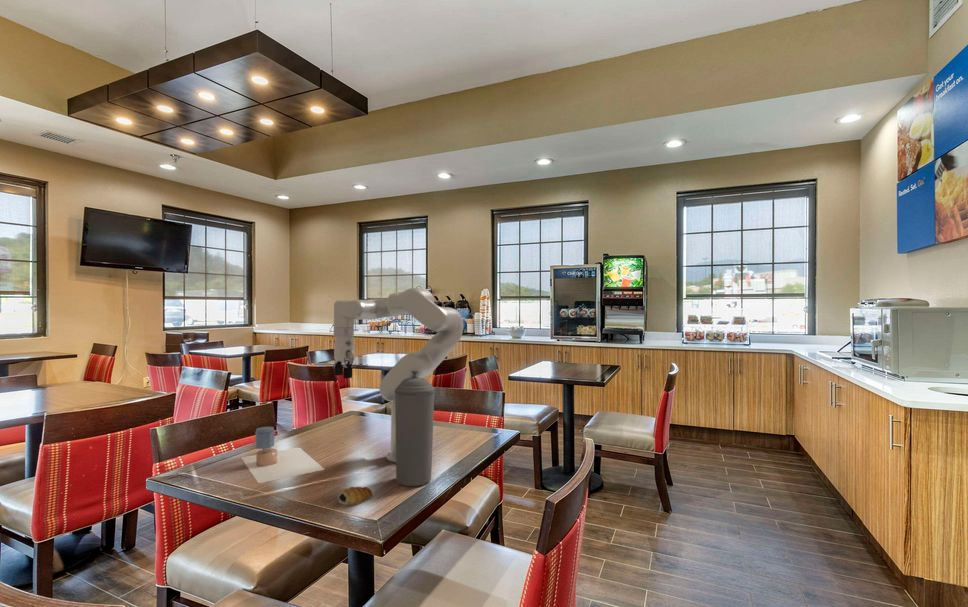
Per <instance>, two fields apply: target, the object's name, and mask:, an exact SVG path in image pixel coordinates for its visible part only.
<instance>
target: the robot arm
mask: <svg viewBox="0 0 968 607" xmlns="http://www.w3.org/2000/svg"><path fill="white" fill-rule="evenodd" d="M405 315H406V316H407V315H410V316H412V318H414V319H415V320H416V321H417V322H419V323H420V324H421V325H423V326H424V327H425V328H426V329H427V330H430V331H433V332H436V334H434V335H433V336H431V338H429V340H428V341H427V342H426V343H425V345H423V347H422V348H420V349H419V350H417V351H414V352H408V353H406V354H404V356H402V357H401V358H399V360H398V361H397V362H396V363H395V365H393V367H391V369H390V370H389V371H388V372H387V373H386V375H384V377H383V378H382V380H381V382H380V383H379V384H380V385H379V393H380V396H381V397H382V398H383V400H385V401H387V402H392V403H391V410H390V411H391V412H390V414H391V415H390V417H391V419H390V451H389V452H388V453H387V454H386V455H385V456H386V458H385V459H386V460H388V461H389V462H391V463H395V464H396V425H395V389H396V388H397V387H398V385H399V384H400V383H401V382H402V381H403V380H404V379H406V378H412V376H413V373H412V372H411V370H419V372H417V377H419V378H426V377H428V376H430V375H431V374H432V373H434V371H435V370H436V368H437V367H438V366H439V365H440V364H441V363H442V362H443V361H444V360H445V359H446V357H447V356H448V355H449V354H450V353H451V352H452V350H454V349H455V348H456V346H457V344H459V342H460V340H461V338H462V336H463V332H464V321H463V317H462V316H461V313H460V312H459V311H458V310H457V309H455V308H453V307H449V306H448V307H447V306H446V307H445V306H439V305H437V304H436V303H435V297H434V295H433V294H432V292H430V291H429V290H427V289H424V288H418V287H417V288H416V287H410V288H407V289H405V290H404V291H399V292H394V293H393V292H392V293H390V294H389V295H388V296H387V297H386V298H380V299H379V298H378V299H370V300H368V299H353V300H341V299H340V300H336V301H335V302H334V304H333V337H334V346H333V347H334V348H333V357H334V358H333V360H334V372H333V373H334V376H343V379H352V378H353V366H354V365H353V364H354V361H355V359H356V357H355V341H354V339H355V338H354V337H355V320H358V321H359V320H375V319H384V318H391V317H398V316H405Z"/></svg>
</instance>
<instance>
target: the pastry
mask: <svg viewBox="0 0 968 607" xmlns="http://www.w3.org/2000/svg"><path fill="white" fill-rule="evenodd" d="M371 497H373V491H372V489H370V488H369V487H366V486H363V487H362V486H350V487H349V488H348V487H347V488H343V490H340V491H339V493H338V495H337V498H336V499H337V501H338V503H339V504H341V505H344V506H345V507H352V506H356V505H357V504H358V505H360V504H362V503H364V502H366V501H368V500H370V499H371Z"/></svg>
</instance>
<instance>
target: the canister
mask: <svg viewBox="0 0 968 607" xmlns="http://www.w3.org/2000/svg"><path fill="white" fill-rule="evenodd" d="M411 372H412V373H413V376H412V378H406V379H404V380H403V381H402V382H401V383H400V384H399V385H398V387H397V388H396V389H395V425H396V463H395V468H396V469H395V470H396V472H395V473H396V474H395V475H396V476H395V478H396V483H397V484H399V485H401V486H403V487H420V485H421V486H423V485H427V484H429V483H430V481H431V480H432V468H433V466H432V465H433V444H434V443H433V442H434V441H433V439H434V412H435V408H434V405H435V393H436V390H435V388H434V386H433V385H432V384H431V383H430V382H429V380H428V379H426V377H423V378H419V377H417V372H419V370H411Z"/></svg>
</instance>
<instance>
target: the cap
mask: <svg viewBox="0 0 968 607" xmlns="http://www.w3.org/2000/svg"><path fill="white" fill-rule="evenodd" d="M254 437H255V444H254V446H255V447H254V448H255V449H258V450H259V449H260V450H263V449H265V448H270V447H271V448H272V447H274V446H275V428H274V426H261V427H258V428H256V429H255V436H254Z"/></svg>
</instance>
